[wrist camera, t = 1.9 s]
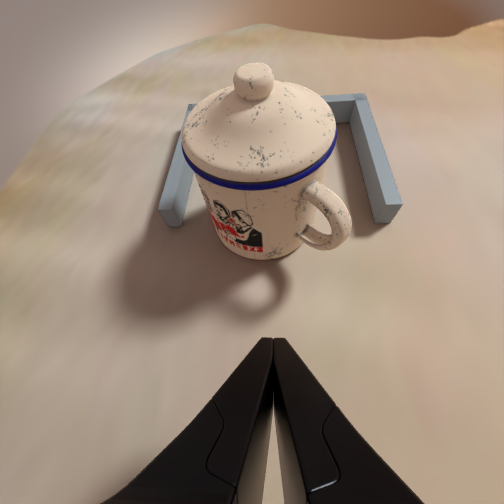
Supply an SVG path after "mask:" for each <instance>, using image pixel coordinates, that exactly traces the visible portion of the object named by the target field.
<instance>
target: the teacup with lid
mask: <svg viewBox="0 0 504 504" xmlns="http://www.w3.org/2000/svg"><path fill="white" fill-rule="evenodd" d="M233 82H234V84H233V85H232V86H229V87H226V88H223V89H221V90H218V91H216V92H214V93H213V94H211V95H209V96H207V97H206V98H204V99H203V100H202V101H201V102H199V103H198V104H197V105H196V106H195V107H194V108H193V109H192V111H191V112H190V113H189V115H188V117H187V118H186V120H185V123H184V126H183V130H182V136H181V137H182V143H181V144H182V152H183V155H184V158H185V160H186V162H187V164H188V165H189V166H190V168H191V169H192V170H193V171H194V173H195V175H196V178H197V181H198V183H199V186H200V189H201V192H202V194H203V197H204V200H205V202H206V205H207V208H208V210H209V213H210V216H211V219H212V221H213V224H214V227H215V229H216V232H217V234H218V236H219V238H220V240H221V241H222V242H223V244H224V245H225V246H226V247H227V248H229V249H230V250H231V251H233V252H234V253H236V254H238V255H240V256H243V257H246V258H250V259H257V260H267V259H274V258H278V257H282V256H284V255H287V254H289V253H291V252H292V251H294V250H295V249H297V248H298V247H299V246H300V245H301V244H303V242H304V243H306V244H307V245H309V246H311V247H313V248H315V249H318V250H332V249H334V248H336V247H338V246H339V245H340V244H342V243H343V242H344V241H345V240H346V239H347V237H348V236H349V234H350V231H351V227H352V221H351V217H350V214H349V212H348V209H347V208H346V206H345V204H344V203H343V202H342V200H341V199H340V198H339V197H338V196H337V195H336V194H335V193H333V192H332V191H331V190H329V189H328V188H327V187H325V186H323V185H322V181H323V177H324V172H325V168H326V163H327V159H328V158H329V156H330V155H331V153H332V151H333V149H334V146H335V143H336V138H337V129H336V122H335V118H334V115H333V113H332V110H331V108H330V107H329V105H328V104H327V103H326V101H325V100H324V99H323V98H322V97H320V96H319V95H318V94H316V93H315V92H313V91H312V90H310V89H308V88H305V87H303V86H300V85H297V84H294V83H289V82H284V81H276V80H274V74H273V72H272V70H271V68H270V67H269V66H268V65H266V64H263V63H248V64H245V65H243V66H241V67H239V68H238V69H237V71H236V72H235V74H234V78H233ZM316 208H318V209H319V210H320V211H321V212H322V213H323V214H324V215H325V217H326V218H327V220H328V221H329V223H330V225H331V229H332V235H326V234H323V233H321V232H319V231H317V230H315V229H314V228H312V226H313V222H314V217H315V213H316Z"/></svg>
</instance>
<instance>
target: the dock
mask: <svg viewBox="0 0 504 504" xmlns="http://www.w3.org/2000/svg"><path fill="white" fill-rule="evenodd" d="M320 97H322V98H323V99H324V100H325V101H326V103H327V104H328V105H329V107H330V108H331V110H332V113H333V115H334V118H335V122H336V123H345V122H349V123H350V127H351V131H352V135H353V139H354V143H355V147H356V151H357V154H358V158H359V162H360V166H361V170H362V174H363V178H364V182H365V186H366V190H367V194H368V198H369V202H370V206H371V210H372V214H373V218H374V221H375V223H390V222H391V221H392V220H393V218H394V217H395V215H396V214H397V212H398V211H399V209H400V208H401V206H402V205H403V203H402V200H401V197H400V194H399V191H398V188H397V185H396V182H395V179H394V176H393V173H392V170H391V168H390V165H389V162H388V159H387V156H386V153H385V150H384V147H383V144H382V141H381V138H380V135H379V132H378V129H377V126H376V123H375V120H374V117H373V115H372V112H371V109H370V106H369V103H368V100H367V97H366V94H365V93H359V94H344V95H328V96H320ZM196 105H197V104H189V106H188V109H187V112H186V116H185V119H184V122H183V126H184V123H185V120H186V118H187V117H188V115H189V113H190V112H191V111H192V109H193V108H194V107H195V106H196ZM183 126H182V129H181V133H180V136H179V139H178V143H177V146H176V149H175V153H174V156H173V159H172V163H171V166H170V170H169V173H168V176H167V180H166V183H165V186H164V190H163V193H162V196H161V200H160V203H159V207H158V211H159V212H160V214H161V216H162V217H163V219H164V220H165V222H166V223H167V225H168V226H169V227H174V226H182V222H183V217H184V213H185V208H186V204H187V200H188V195H189V191H190V186H191V182H192V177H193V173H194V171H193V170H192V169H191V168H190V166H189V165H188V164H187V162H186V160H185V158H184V155H183V152H182V144H181V143H182V137H181V136H182V130H183Z"/></svg>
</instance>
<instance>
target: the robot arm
mask: <svg viewBox="0 0 504 504" xmlns="http://www.w3.org/2000/svg"><path fill="white" fill-rule="evenodd" d="M273 392H274V416H275V425H276V433H277V442H278V451H279V459H280V468H281V477H282V485H283V494H284V503H285V504H424V503H423V502H422V501H421V500H420V498H419V497H418V496H417V495H416V494H415V493H414V492H413V491H412V490H411V489H410V488H409V487H408V486H407V485H406V484H405V483H404V481H403V480H402V479H401V478H400V477H399V476H398V475H397V474H396V473H395V472H394V471H393V470H392V469H391V468H390V467H389V465H388V464H387V463H386V462H385V461H384V460H383V459H382V458H381V457H380V456H379V455H378V454H377V453H376V452H375V450H374V449H373V448H372V447H371V446H370V445H369V444H368V443H367V442H366V440H365V439H364V438H363V437H362V436H361V435H360V434H359V433H358V431H357V430H356V429H355V428H354V427H353V425H352V424H351V423H350V422H349V420H348V419H347V418H346V417H345V415H344V414H343V413H342V411H341V410H340V409H339V407H338V406H336V404H335V402H334V401H333V400H332V399H331V397H330V396H329V395H328V393H327V392H326V391H325V389H324V388H323V387H322V385H321V384H320V383H319V382H318V380H317V379H316V378H315V376H314V375H313V374H312V372H311V371H310V370H309V369H308V367H307V366H306V365H305V363H304V362H303V361H302V359H301V358H300V357H299V355H298V354H297V353H296V352H295V350H294V349H293V348H292V346H291V345H290V344H289V342H288V341H287V340H286V339H285V338H274V340H273V338H266V337H262V338H261V339H260V340H259V341H258V342H257V344H256V345H255V346H254V347H253V349H252V350H251V351H250V352H249V353H248V355H247V356H246V357H245V358H244V360H243V361H242V362H241V363H240V364H239V366H238V367H237V368H236V369H235V370H234V372H233V373H232V374H231V375H230V377H229V378H228V379H227V380H226V381H225V383H224V384H223V385H222V386H221V387H220V389H219V390H218V391H217V392H216V394H215V395H214V396H213V397H212V399H211V400H210V401H209V402H208V403H207V404H206V406H205V407H204V408H203V409H202V410H201V411H200V413H199V414H198V415H197V416H196V417H195V418H194V419H193V421H192V422H191V423H190V424H189V425H188V426H187V427H186V428H185V429H184V430H183V431H182V432H181V433H180V434H179V435H178V436H177V437H176V438H175V439H174V440H173V441H172V442H171V443H170V444H169V445H168V446H167V447H166V448H165V449H164V450H163V451H162V452H161V453H160V454H159V455H158V456H157V457H156V458H155V459H154V460H153V461H152V462H150V463H149V464H148V465H147V466H146V467H145V468H144V469H143V470H142V471H141V472H140V473H139V474H138V475H137V476H136V477H135V478H134V479H133V480H132V481H131V482H130V483H129V484H128V485H126V486H125V487H124V488H123V489H122V490H120V491H119V492H118V493H116V494H115V495H113V496H112V497H111V498H109V499H108V500H106V501H104V502H102V503H100V504H262V498H263V489H264V481H265V473H266V465H267V456H268V448H269V440H270V432H271V423H272V415H273Z"/></svg>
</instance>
